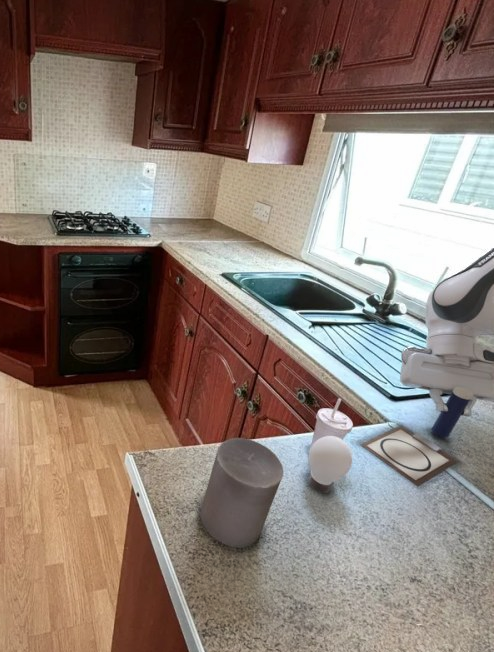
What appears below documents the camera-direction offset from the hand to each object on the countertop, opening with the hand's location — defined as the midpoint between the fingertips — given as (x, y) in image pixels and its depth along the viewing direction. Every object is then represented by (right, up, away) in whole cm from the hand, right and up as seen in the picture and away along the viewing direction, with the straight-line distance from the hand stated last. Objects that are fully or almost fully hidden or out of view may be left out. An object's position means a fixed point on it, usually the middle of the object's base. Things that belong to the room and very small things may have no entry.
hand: (453, 413), depth 88 cm
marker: (-1, -6, +4) cm, 7 cm away
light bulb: (-36, -11, -13) cm, 39 cm away
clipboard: (-12, -8, -3) cm, 14 cm away
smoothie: (-32, -7, -6) cm, 33 cm away
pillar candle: (-55, -13, -22) cm, 60 cm away
